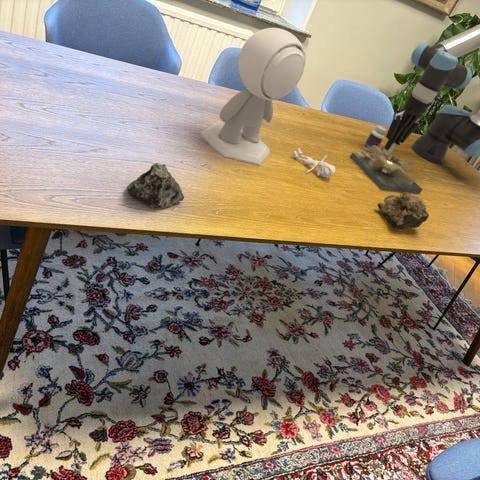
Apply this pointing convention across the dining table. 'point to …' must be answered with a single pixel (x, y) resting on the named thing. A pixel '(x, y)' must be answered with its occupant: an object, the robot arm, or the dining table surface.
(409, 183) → the four spoke knob plate
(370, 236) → the dining table surface
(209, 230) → the dining table surface
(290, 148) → the dining table surface
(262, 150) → the big headed doll
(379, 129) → the pill bottle
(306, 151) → the dining table surface
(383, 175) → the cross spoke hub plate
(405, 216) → the mineral specimen
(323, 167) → the figurine
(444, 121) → the robot arm
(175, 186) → the rock
